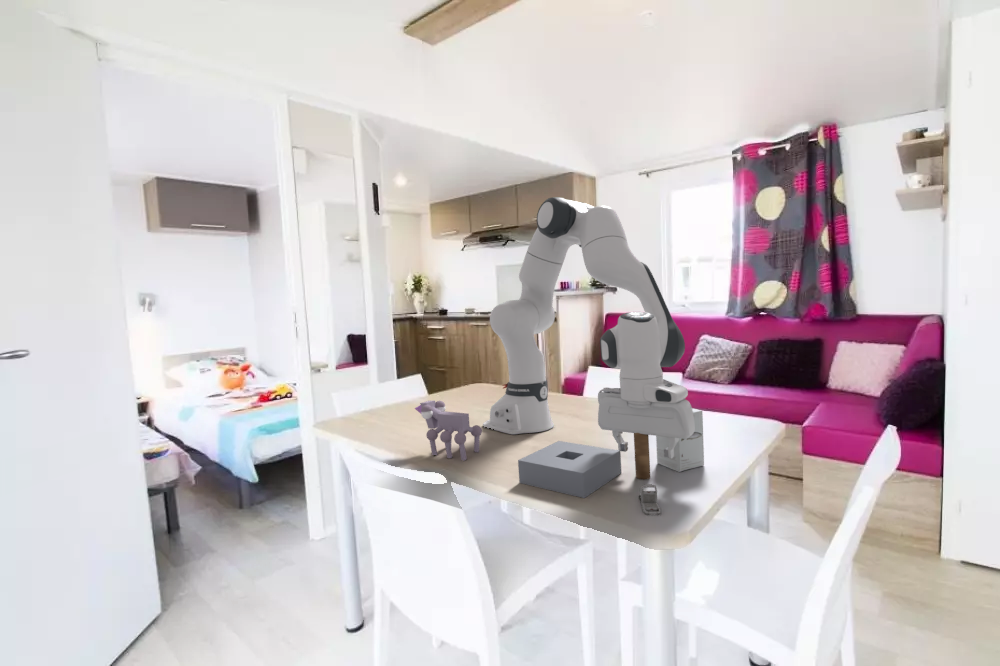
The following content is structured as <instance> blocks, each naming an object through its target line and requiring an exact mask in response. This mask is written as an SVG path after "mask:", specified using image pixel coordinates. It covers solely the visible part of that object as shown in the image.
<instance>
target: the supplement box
mask: <svg viewBox="0 0 1000 666" xmlns="http://www.w3.org/2000/svg"><path fill="white" fill-rule="evenodd" d="M692 411H693V416H694V424H695V431H694V433H693V434H692V435H691V436H690V437H689V438H687V439H681V438H679V441H678V443H677V444H676V446H675V448H674V457H673V458H666V457H664V449H665V448H666V447H669V446H670V444H671V442H668V437H663V436H655V441H656V444H655V445H656V463H657V464H659V465H661V466H663V467H665V468H668V469H671V470H674V471H676V472H678V473H680V472H681V473H682V472H683V471H686V470H691V469H695V468H698V467H703V466H705V455H704V453H705V448H704V421H703V420H704V418H703V415H704V414H703V410H701V409H697V408H693V407H692Z"/></svg>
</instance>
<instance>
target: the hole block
mask: <svg viewBox="0 0 1000 666" xmlns="http://www.w3.org/2000/svg"><path fill="white" fill-rule="evenodd" d="M621 458H622V456H621V451H619V450H618V449H613V448H606V447H600V446H593V445H587V444H581V443H575V442H570V441H569V442H568V441H563V440H558V441H556V442H553V443H552V444H551V443H550V444H549V445H547V446H545V447H543V448H541V449H538V450H537V451H535V452H532V453H530V454H528V455H526V456H523V457H522V458H520V459H517V465H518V467H517V468H518V483H519V484H523V485H528V486H531V487H536V488H540V489H543V490H548V491H553V492H557V493H561V494H565V495H569V496H574V497H577V498H581V499H585V498H587V497H588V496H590V495H591V494H592V493H594V492H596V491H597V490H598V489H600V488H601V487H603V486H604V485H606V484H607V483H609V482H610V481H612V480H613V479H615V478H616V477H618V476H619V475H620V474H622V459H621Z"/></svg>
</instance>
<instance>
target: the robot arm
mask: <svg viewBox="0 0 1000 666" xmlns="http://www.w3.org/2000/svg"><path fill="white" fill-rule="evenodd" d="M536 226H537V228H536V229H535V231H534V233H533V235H532V238H531V239H530V242H529V245H528V247H527V250H526V253H525V256H524V259H523V262H522V265H521V266H520V267H521V268H520V271H519V274H518V278H519V281H520V283H521V294H520V298H519V299H512V300H510V299H509V300H506V301H504V302H502V303H499V304H498V305H496V306H494V307H493V309H492V310H491V313H490V315H489V325H490V327H491V329H492V331H493V332H494V334H496V335H497V336H498V337H499V339H500V340H501V341H500V342H501V343H502V346H503V348H504V351H505V354H506V360H507V366H508V367H507V368H508V370H507V371H508V380H509V381H508V382H507V383H505V384H502V385H501V386H503V387H502V389H504V390H505V389H506V390H505V392H504V393H505V394H504V395H503V396H502V397H500V398H499V399H498V400H497V401H496V402H495V403H494V404H492V406H491V408H490V411H489V419H487V420H486V421H484V422H483V423H482V427H483V426H484V427H483V428H485V427H487V428H486V429H489V428H491V429H490V430H493V429H494V430H493V431H497V432H501V433H505V434H509V435H518V434H528V433H529V434H531V433H532V434H533V433H538V432H539V433H540V432H544V431H548V430H551V429H553V428H554V425H555V424H554V422H553V419H552V416H551V412H550V406H549V402H548V396H549V395H548V394H549V387H548V380H547V379H546V366H545V365H546V363H545V361H546V360H545V355H544V352H543V351H542V350H540V349H539V347H538V344H537V342H536V337H535V335H537V334H541V333H543V332H545V331H547V330H549V328H551V327H552V326H553V324H554V322H555V320H556V319H555V317H556V313H555V310H554V307H553V302H554V293H555V288H556V283H557V281H558V279H559V276H560V273H561V270H562V269H563V268H562V267H563V264H564V262H565V259H566V255H567V253H568V250H569V249H570V247H572V246H574V245H577V246H578V247H580V248H581V253H582V257H583V262H584V265H585V269H586V270H587V273H588V275H590V276H591V278H593V279H594V280H595V281H598V282H599V283H601V284H604V285H606V286H611V287H616V288H619V289H623V290H625V291H627V292H630V293H632V294H634V295H635V296H636V297H637V298H638V299H639V301H640V304H641V306H642V308H643V311H630V312H629V311H628V312H626V313H622V314H621V315H619V317H618V318H617V324H616V325H615V326H613V327H612V328H608V329H607V330H606V331H605V332H603V334H602V335H601V337H600V339H599V344H600V345H599V347H600V348H599V349H600V359H601V361H602V362H603V363H604V364H605V365H607V367H609V368H610V369H614V370H619V376H618V377H619V387H603V388H602V389H601V390H599V391H598V393H597V400H598V402H597V403H598V411H597V412H598V413H597V415H598V416H597V424H598V426H599V428H600V429H601V430H604V431H611V432H612V436H613V439H614V440H615V442H616V443H617V444H618V445H617V447H618V449H617V450H619V451H620V452H624V453H626V452H627V451H628V450H629V447H628V445H629V442H628V441H625V440H624V438H623V436H622V434H623V433H630V434H634V433H640V434H646V435H648V436H655V437H656V436H663V437H668V442H671V444H670V446H669V447H666V448H665V449H664V457H666V458H673V457H674V448H675V446H676V444H677V443H678V441H679V438H681V439H687V438H689V437H690V436H691V435H692V434H693V433H694V431H695V424H694V416H693V411H692V408H693V407H692V404H691V403H690V401H689V400H687V399H686V398H687V397H688V395H689V392H688V390H689V389H688V387H685V386H683V385H680V384H677V383H674V382H672V381H669V380H667V379H665V378H664V373H663V370H662V368H671V367H673V366H675V365H676V364H677V363H678V362H679V361H680V360H681V359H682V357H683V355H684V354H685V349H686V343H685V339H684V336H683V334H682V332H681V330H680V328H679V326H678V325H677V323H676V322H675V321H674V318H673V317H672V315H671V313H670V311H669V307H668V306H667V304H666V302H665V299H664V297H663V295H662V293H661V290H660V287H659V285H658V283H657V282H656V279H655V277H654V275H653V273H652V271H651V269H650V267H649V266H648V265H647V264H646V263H645V262H643V261H640V260H639V259H638V258H637V257H636V256H635V255H634V253H633V252H632V251H631V249H630V246H629V244H628V240H627V236H626V233H625V230H624V226H623V224H622V222H621V220H620V218H619V216H618V213H617V212H616V210H614V209H613V208H612V207H610V206H607V205H598V206H597V205H596V206H594V205H591V204H588V203H586V202H582V201H575V200H571V199H566V198H564V197H549V198H547V199H545V200H544V201H543V202H542V204H541V205H540V206H539V208H538V210H537V214H536Z"/></svg>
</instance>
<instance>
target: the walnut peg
mask: <svg viewBox="0 0 1000 666" xmlns="http://www.w3.org/2000/svg"><path fill="white" fill-rule="evenodd" d="M649 436H650V435H646V434H640V433H633V444H634V445H633V447H634V465H635V466H634V468H635V478H636V479H638V480H650V479H651V463H650V462H651V461H650V460H651V459H650V439H649Z"/></svg>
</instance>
